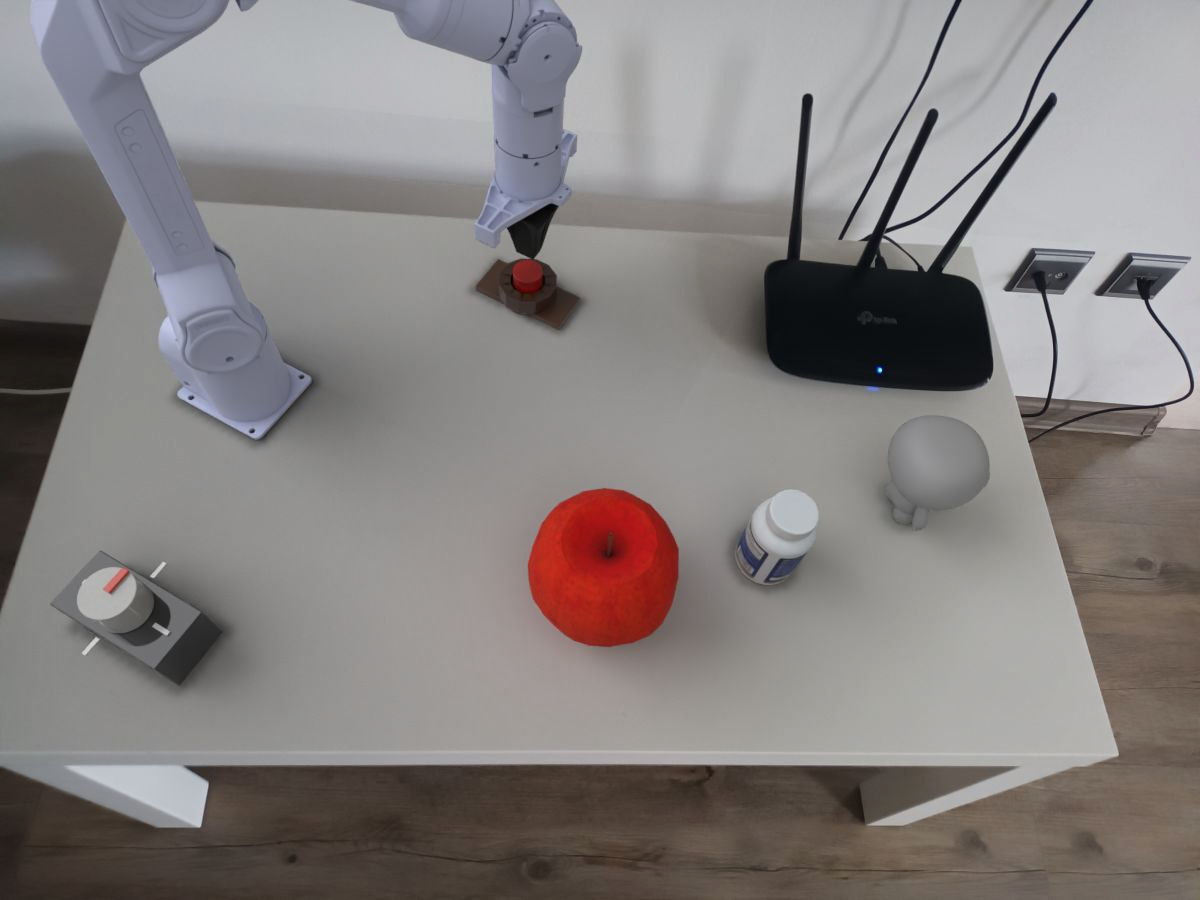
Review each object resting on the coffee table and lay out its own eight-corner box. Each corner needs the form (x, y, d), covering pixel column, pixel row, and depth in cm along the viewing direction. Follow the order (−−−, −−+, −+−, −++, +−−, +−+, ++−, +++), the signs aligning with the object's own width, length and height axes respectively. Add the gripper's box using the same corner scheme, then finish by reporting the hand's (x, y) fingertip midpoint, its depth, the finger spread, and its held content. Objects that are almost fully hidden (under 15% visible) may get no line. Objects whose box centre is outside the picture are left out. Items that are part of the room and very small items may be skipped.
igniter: (471, 295, 85) (470, 278, 83) (501, 259, 87) (501, 242, 85) (555, 335, 83) (556, 319, 81) (583, 297, 86) (584, 281, 84)
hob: (65, 641, 64) (30, 621, 60) (141, 557, 68) (114, 532, 64) (164, 705, 62) (136, 688, 58) (237, 615, 66) (216, 593, 62)
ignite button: (507, 286, 83) (507, 274, 81) (522, 267, 84) (522, 255, 83) (532, 298, 82) (533, 286, 81) (547, 279, 84) (548, 267, 82)
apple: (681, 655, 67) (713, 601, 56) (542, 685, 65) (546, 635, 54) (645, 527, 73) (668, 454, 61) (516, 551, 71) (514, 480, 59)
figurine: (947, 544, 75) (1016, 483, 64) (869, 550, 74) (926, 490, 63) (920, 467, 78) (980, 398, 68) (845, 472, 78) (895, 404, 67)
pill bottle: (799, 541, 73) (834, 493, 65) (786, 595, 71) (821, 552, 62) (741, 522, 74) (769, 471, 66) (727, 574, 71) (753, 528, 63)
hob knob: (126, 643, 60) (105, 628, 57) (84, 617, 60) (61, 601, 57) (166, 597, 61) (147, 581, 58) (124, 573, 62) (104, 555, 59)
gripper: (524, 207, 64) (525, 317, 75) (610, 105, 70) (599, 221, 82) (448, 172, 65) (460, 286, 77) (540, 75, 72) (538, 194, 83)
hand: (528, 251), depth 79 cm, fingers closed
